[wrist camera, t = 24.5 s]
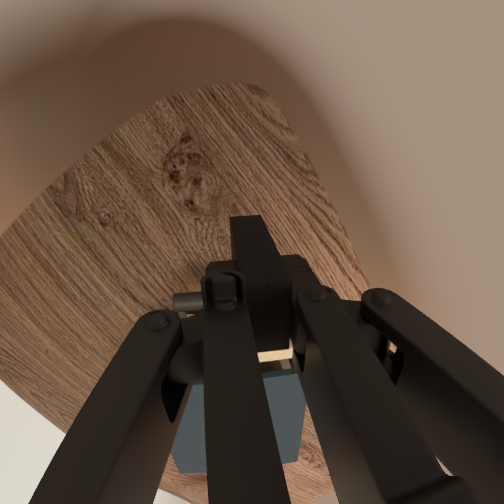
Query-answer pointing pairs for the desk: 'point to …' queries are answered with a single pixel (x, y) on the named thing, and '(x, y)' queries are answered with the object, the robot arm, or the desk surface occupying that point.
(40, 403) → the desk surface
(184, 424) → the cabinet
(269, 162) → the desk surface
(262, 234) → the robot arm
